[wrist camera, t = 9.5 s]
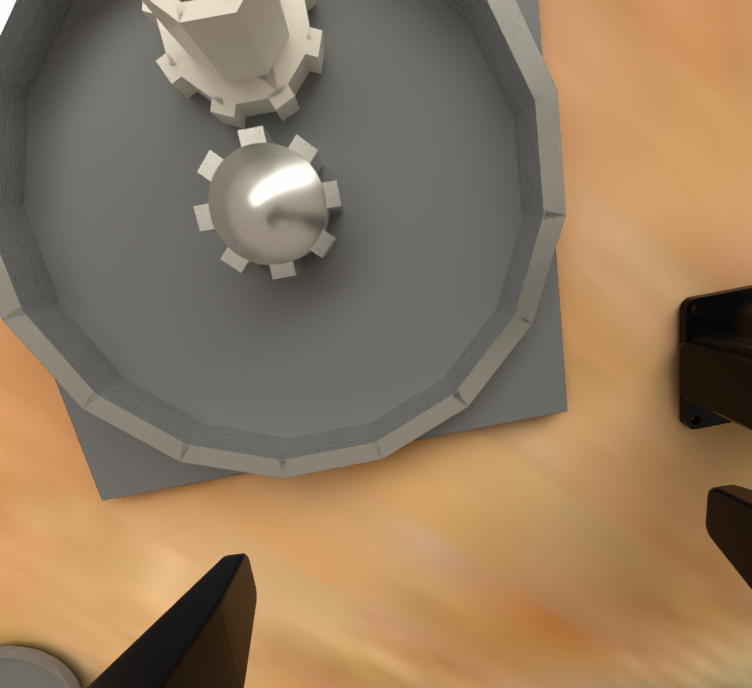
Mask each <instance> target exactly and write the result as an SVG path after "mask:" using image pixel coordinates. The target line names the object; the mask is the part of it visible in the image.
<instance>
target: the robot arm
mask: <svg viewBox="0 0 752 688" xmlns="http://www.w3.org/2000/svg"><path fill="white" fill-rule="evenodd" d="M694 305H695V306H696V308H695V310H694V311H693V312H692V307H693V306H694ZM693 416H694V419H693V420H691V418H692V417H693ZM680 422H681V423H682V424H683V425H685V426H687V427H689V428H691V429H699V428H704V427H709V426H714V425H720V424H725V423H730V422H735V423H737V424H739V425H741V426H743V427H745V428H747V429H749V430H751V431H752V285H751V286H746V287H740V288H735V289H730V290H724V291H719V292H714V293H708V294H703V295H698V296H693V297H689V298H686V299H685V300H684V301H683V302H682V304H681V306H680ZM706 529H707V531H708V534H709V535H710V537H711V539H712V540H713V541H714V543H715V544H716V545H717V546H718V548H719V549H720V550H721V551H722V553H723V554H724V555H725V556H726V558H727V559H728V560H729V561H730V563H731V564H732V565H733V566H734V568H735V569H736V570H737V571H738V573H739V574H740V575H741V576H742V578H743V579H744V580H745V582H746V583H747V584H748V585H749V587H750V588H751V589H752V490H749V489H746V488H743V487H740V486H736V485H727V486H720V487H714V488H712V489H710V491H709V492H708V496H707V510H706ZM256 599H257V593H256V586H255V582H254V578H253V573H252V569H251V565H250V561H249V558H248V556H247V555H246V554H244V553H242V554H235V555H228V556H225V557H223V558H222V559H221V560H220V561H219V562H218V563H217V564H216V565H215V566H214V567H213V568H212V569H210V570H209V571H208V572H207V573H206V574H205V575H204V576H203V577H202V578H201V579H200V580H199V581H198V582H197V583H196V584H195V585H194V586H193V587H192V588H191V589H190V590H188V591H187V592H186V593H185V594H184V595H183V596H182V597H181V598H180V599H179V600H178V601H177V602H176V603H175V604H174V605H173V606H172V607H171V608H170V609H169V610H168V611H167V612H165V613H164V614H163V615H162V616H161V617H160V618H159V619H158V620H157V621H156V622H155V623H154V624H153V625H152V626H151V627H150V628H149V629H148V630H147V631H146V632H145V633H144V634H142V635H141V636H140V637H139V638H138V639H137V640H136V641H135V642H134V643H133V644H132V645H131V646H130V647H129V648H128V649H127V650H126V651H125V652H124V653H123V654H122V655H120V656H119V657H118V658H117V659H116V660H115V661H114V662H113V663H112V664H111V665H110V666H109V667H108V668H107V669H106V670H105V671H104V672H103V673H102V674H101V675H100V676H99V677H97V678H96V679H95V680H94V681H93V682H92V683H91V684H90V685H89V686H88V687H87V688H244V683H245V677H246V670H247V663H248V656H249V650H250V643H251V636H252V629H253V622H254V615H255V608H256Z"/></svg>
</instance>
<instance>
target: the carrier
mask: <svg viewBox="0 0 752 688" xmlns="http://www.w3.org/2000/svg"><path fill="white" fill-rule="evenodd" d="M516 3H517V5H518V7H519V9H520V11H521V13H522V15H523V18H524V20H525V22H526V24H527V26H528V28H529V31H530V33H531V35H532V37H533V39H534V41H535V44H536V46H537V48H538V50H539V52H540V54H541V57H542V49H541V35H540V21H539V7H538V0H516ZM307 15H308V20H309V25H310V27H312V28H315V29H319V30H322V32H323V39H324V47H325V53H324V59H323V65H322V71H321V74H319V73H315V72H311V71H310V72H309V73H308V75H307V77H306V78H305V80H304V82H303V83H302V85H301V87H300V89H299V90H298V92H297V94H296V95H295V97H296V100H297V103H298V105H299V108H300V110H298V111H297V112H295V113H294V114H293V115H291V116H290V117H288V118H287V119H286V120H284V121H283V122H282V120H281V119H280V117H279V115H278V114H277V112H276V111H275V112H269V113H264V114H258V115H253V116H248V117H246V123H245V129H248V128H253V127H259V126H263V127H264V128H265V130H266V131H267V132H268V134H269V135H270V136H271V137H272V139H273V140H274V141H275V143H276V144H278V145H281V146H284V147H287V148H288V147H289V146H290V144H291V142H292V141H293V139H294V137H295V136H296V134H297V135H298V136H300V137H301V138H302V139H304V140H305V141H306V142H308V143H309V144H310V145H312V146H313V147H314V148H316V149H317V150H318V152H319V155H320V158H321V160H322V163H323V168H322V170H321V171H320V173H319V174H318V177H319V179H320V180H321V182H322V183H323V182H329V181H334V180H337V184H338V189H339V194H340V199H341V204H342V210H343V212H338V213H333V214H331V217H330V224H329V228H328V232H329V233H331V234H332V235H333V236H335V237H336V238H338V239H337V240H336V242H335V243H334V245H333V246H332V248H331V249H330V251H329V252H328V254H327V255H326V256H325V257H323V258H321V257H320V256H318V255H317V254H315V253H314V252H311V253H310V254H308V255H306V256H304V257H303V262H304V266H305V270H304V271H302V272H301V273H299V274H297V275H295V276H290V277H285V278H279V279H274V280H273V278H272V274H271V270H270V266H269V265H263V264H262V265H261V266H260V268H257V269H253V270H250V271H247V272H243V273H240V272H239V271H237V270H236V269H234V268H233V267H231V266H230V265H228V264H227V263H225V262H224V261H222V260H221V257H222V256H223V254H224V252H225V251H226V249H227V247H228V246H227V245H226V244H225V243H224V242H223V241H222V239H221V238H220V237H219V235H218V233H216V232H200V230H199V226H198V222H197V219H196V215H195V211H194V208H193V206H197V205H203V204H208V193H209V187H210V183H211V181H209V180H208V179H206V178H205V177H204V176H202V175H201V174H199V173H198V172H197V171H198V170H199V168H200V166H201V164H202V163H203V161H204V159H205V157H206V156H207V154H208V152H209V150H211V151H212V152H214V153H216V154H217V155H219V156H220V157H222V158H223V159H225V158H226V157H227V156H228V155H230V154H231V153H232V152H234V151H235V150H237V149H239V148H241V144H240V140H239V135H238V131H237V130H242V129H244V128H240V127H236V126H232V125H228V124H223V123H222V122H221V121H220V120H219V119H218V118H217V117H216V116H215V115H213V114H212V113H211V112H210V109H211V101H209V100H208V99H207V98H205V97H204V96H203V95H201V94H200V93H198V92H196V93H195V94H194V95H192V96H191V97H190V98H187V97H186V96H185V95H184V94H183V93H181V92H180V91H179V90H178V89H177V88H176V87H175V86H173V85H172V84H171V82H170V81H169V79H168V78H167V76H166V75H165V74H164V72H163V71H162V69H161V68H160V66H159V65H158V63H157V62H156V60H157V59H159V58H160V57H161V56H163V55H164V54H165V53H166V52H165V48H164V45H163V41H162V37H161V33H160V30H159V29H158V28H157V27H156V26H155V25H154V23H153V22H152V21H151V20H150V19H149V18H148V17H147V16H146V15H145V13H144V12H143V11H142V1H141V0H75V2H74V4H73V6H72V8H71V10H70V12H69V14H68V16H67V18H66V20H65V22H64V24H63V27H62V29H61V31H60V33H59V35H58V37H57V39H56V41H55V43H54V45H53V47H52V49H51V51H50V53H49V55H48V57H47V59H46V62H45V64H44V66H43V68H42V70H41V72H40V74H39V76H38V78H37V80H36V82H35V84H34V86H33V88H32V90H31V92H30V94H29V97H28V99H27V132H26V166H25V200H24V206H25V209H26V212H27V214H28V217H29V220H30V223H31V225H32V228H33V231H34V234H35V236H36V239H37V242H38V244H39V247H40V250H41V253H42V255H43V258H44V261H45V264H46V266H47V269H48V272H49V274H50V277H51V280H52V283H53V285H54V288H55V291H56V293H57V296H58V299H59V302H60V304H61V305H62V306H63V307H64V308H65V309H66V311H67V312H68V313H69V314H70V315H71V317H72V318H73V319H74V320H75V321H76V322H77V324H78V325H79V326H80V327H81V328H82V329H83V331H84V332H85V333H86V334H87V335H88V336H89V338H90V339H91V340H92V341H93V342H94V343H95V345H96V346H97V347H98V348H99V349H100V350H101V352H102V353H103V354H104V355H105V356H106V357H107V359H108V360H109V361H110V362H111V363H112V364H113V366H114V367H115V368H116V369H117V370H118V371H119V373H120V374H121V375H122V376H123V377H124V378H125V379H127V380H129V381H131V382H132V383H134V384H136V385H138V386H139V387H141V388H143V389H145V390H147V391H148V392H150V393H152V394H154V395H155V396H157V397H159V398H161V399H162V400H164V401H166V402H168V403H169V404H171V405H173V406H175V407H176V408H178V409H180V410H182V411H183V412H185V413H187V414H189V415H190V416H192V417H194V418H196V419H197V420H199V421H201V422H203V423H206V424H212V425H218V426H224V427H230V428H236V429H242V430H247V431H253V432H259V433H265V434H271V435H277V436H283V437H288V438H290V437H296V436H301V435H306V434H311V433H316V432H322V431H327V430H332V429H337V428H343V427H348V426H353V425H358V424H363V423H369V422H373V421H374V420H376V419H378V418H379V417H381V416H382V415H384V414H386V413H387V412H389V411H391V410H392V409H394V408H395V407H397V406H399V405H400V404H402V403H403V402H405V401H407V400H408V399H410V398H411V397H413V396H415V395H416V394H418V393H420V392H421V391H423V390H424V389H426V388H428V387H429V386H431V385H432V384H434V383H436V382H437V381H439V380H440V379H442V378H444V377H445V375H446V374H447V373H448V371H449V370H450V369H451V367H452V366H453V365H454V363H455V362H456V361H457V359H458V358H459V357H460V355H461V354H462V353H463V351H464V350H465V349H466V347H467V346H468V345H469V343H470V342H471V341H472V339H473V338H474V337H475V335H476V334H477V333H478V331H479V330H480V329H481V327H482V326H483V325H484V323H485V322H486V321H487V319H488V318H489V317H490V315H491V314H492V313H493V311H494V310H495V309H496V307H497V304H498V301H499V297H500V294H501V290H502V287H503V283H504V280H505V276H506V272H507V269H508V265H509V262H510V258H511V255H512V251H513V248H514V244H515V241H516V237H517V234H518V230H519V227H520V223H521V220H522V211H521V200H520V189H519V177H518V166H517V155H516V144H515V132H514V121H513V116H512V114H511V112H510V110H509V108H508V106H507V104H506V102H505V100H504V98H503V96H502V94H501V92H500V90H499V88H498V86H497V84H496V82H495V80H494V78H493V76H492V74H491V72H490V70H489V68H488V66H487V64H486V62H485V60H484V57H483V55H482V53H481V51H480V49H479V47H478V45H477V43H476V41H475V39H474V37H473V35H472V33H471V31H470V29H469V27H468V25H467V23H466V21H465V20H464V19H463V18H461V17H460V16H459V15H458V14H457V13H456V12H455V11H453V10H452V9H451V8H450V7H449V6H448V5H447V4H445V3H444V2H443V1H442V0H316V5H315V6H314V7H313V8H311V9H310V10H309V11H307ZM55 380H56V379H55ZM56 383H57V386H58V388H59V391H60V393H61V396H62V399H63V401H64V404H65V406H66V409H67V411H68V414H69V417H70V419H71V422H72V424H73V427H74V429H75V432H76V435H77V437H78V440H79V442H80V445H81V448H82V450H83V453H84V455H85V458H86V460H87V463H88V466H89V468H90V471H91V473H92V476H93V479H94V481H95V484H96V486H97V489H98V491H99V494H100V497H101V499H102V500H108V499H113V498H118V497H123V496H128V495H134V494H139V493H144V492H149V491H154V490H160V489H165V488H170V487H175V486H180V485H186V484H191V483H196V482H201V481H206V480H212V479H217V478H222V477H227V476H232V475H238V474H243V473H247V472H241V471H235V470H228V469H222V468H216V467H210V466H203V465H197V464H191V463H185V462H180V461H178V460H176V459H174V458H172V457H170V456H169V455H167V454H165V453H163V452H161V451H159V450H158V449H156V448H154V447H152V446H150V445H148V444H147V443H145V442H143V441H141V440H139V439H137V438H136V437H134V436H132V435H130V434H128V433H126V432H125V431H123V430H121V429H119V428H117V427H115V426H113V425H112V424H110V423H108V422H106V421H104V420H102V419H101V418H99V417H97V416H95V415H93V414H91V413H90V412H88V411H86V410H84V409H82V408H81V407H80V405H79V404H78V403H77V402H76V401H75V400H74V399H73V398H72V397H71V395H70V394H69V393H68V392H67V391H66V390H65V389H64V388H63V387H62V385H61V384H60V383H59V382H58V381H57V380H56ZM565 411H567V399H566V385H565V371H564V357H563V343H562V329H561V315H560V301H559V287H558V273H557V259H556V248H555V252H554V255H553V258H552V262H551V265H550V268H549V271H548V275H547V278H546V281H545V284H544V288H543V291H542V294H541V297H540V301H539V304H538V307H537V310H536V314H535V317H534V320H533V324H532V325H531V326H530V327H529V329H528V330H527V331H526V333H525V334H524V335H523V336H522V338H521V339H520V340H519V342H518V343H517V344H516V345H515V347H514V348H513V349H512V351H511V352H510V353H509V354H508V356H507V357H506V358H505V360H504V361H503V362H502V364H501V365H500V366H499V367H498V369H497V370H496V371H495V373H494V374H493V375H492V376H491V378H490V379H489V380H488V382H487V383H486V384H485V385H484V387H483V388H482V389H481V391H480V392H479V393H478V394H477V396H476V397H475V398H474V400H473V401H472V402H471V403H470V405H469V406H468V407H467V408H465V409H463V410H462V411H460V412H459V413H457V414H455V415H454V416H452V417H450V418H449V419H447V420H445V421H444V422H442V423H441V424H439V425H437V426H436V427H434V428H432V429H431V430H429V431H427V432H426V433H424V434H423V435H421V436H419V437H418V438H416V439H414V440H420V439H425V438H430V437H435V436H440V435H446V434H451V433H456V432H461V431H466V430H472V429H477V428H482V427H487V426H492V425H498V424H503V423H508V422H513V421H518V420H524V419H529V418H534V417H539V416H544V415H550V414H555V413H560V412H565ZM414 440H413V441H414Z"/></svg>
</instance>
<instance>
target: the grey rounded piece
mask: <svg viewBox="0 0 752 688" xmlns="http://www.w3.org/2000/svg"><path fill="white" fill-rule="evenodd" d="M0 688H81V687H80V684H79V682H78V679H77V677H76V676H75V675H74V674H73V672H72V671H71V670H70V669H69V667H68V666H67V665H65V664H64V663H63V662H61V661H60V660H59V659H57V658H56V657H54V656H52V655H50V654H48V653H45V652H43V651H41V650H39V649H35V648H28V647H22V646H16V645H6V646H0Z"/></svg>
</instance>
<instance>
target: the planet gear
mask: <svg viewBox="0 0 752 688" xmlns="http://www.w3.org/2000/svg"><path fill="white" fill-rule="evenodd" d="M141 1H142V11H143V12H144V13H145V15H146V16H147V17H148V18H149V19H150V20H151V21H152V22H153V23H154V25H155V26H156V27H157V28H158V29H159V30H160V33H161V37H162V41H163V45H164V48H165V52H166V53H165V54H164V55H163V56H161V57H160V58H159V59H157V60H156V62H157V63H158V65H159V66H160V68H161V69H162V71H163V72H164V74H165V75H166V76H167V78H168V79H169V81H170V82H171V84H172V85H173V86H175V87H176V88H177V89H178V90H179V91H180V92H181V93H183V94H184V95H185V96H186V97H187V98H190V97H191V96H192V95H194V94H195V93H196V92H198V93H200V94H201V95H203V96H204V97H205V98H207V99H208V100H209V101H211V109H210V112H211V113H212V114H213V115H215V116H216V117H217V118H218V119H219V120H220V121H221V122H222V123H223V124H228V125H232V126H236V127H240V128H244V129H245V123H246V117H248V116H253V115H258V114H264V113H269V112H275V111H276V112H277V114H278V115H279V117H280V119H281V120H282V122H283V121H284V120H286V119H287V118H288V117H290V116H291V115H293V114H294V113H295V112H297V111H298V110H300V108H299V105H298V103H297V100H296V97H295V95H296V94H297V92H298V90H299V89H300V87H301V85H302V83H303V82H304V80H305V78H306V77H307V75H308V73H309V72H310V71H311V72H315V73H319V74H321V71H322V65H323V59H324V53H325V47H324V39H323V32H322V30H319V29H315V28H312V27H310V25H309V20H308V15H307V11H309V10H310V9H311V8H313V7H314V6H315V5H316V0H141Z"/></svg>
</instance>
